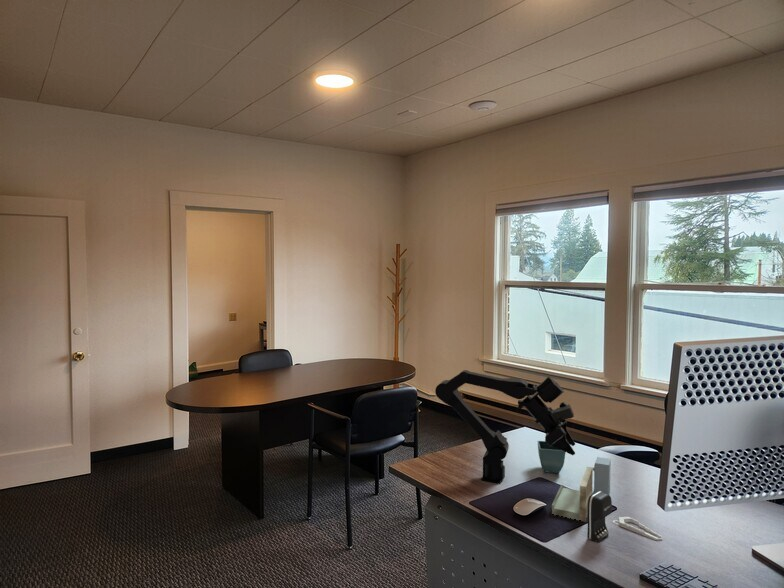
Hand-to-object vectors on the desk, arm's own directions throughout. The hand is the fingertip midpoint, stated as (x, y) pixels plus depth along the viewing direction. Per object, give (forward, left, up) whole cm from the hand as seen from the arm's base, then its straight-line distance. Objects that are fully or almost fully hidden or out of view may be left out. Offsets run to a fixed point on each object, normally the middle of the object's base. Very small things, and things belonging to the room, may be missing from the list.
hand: (574, 449), depth 161 cm
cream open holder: (+1, -13, -13) cm, 18 cm away
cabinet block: (+8, +1, -13) cm, 16 cm away
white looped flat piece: (+19, -18, -14) cm, 30 cm away
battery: (+10, -28, -13) cm, 32 cm away
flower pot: (-10, +13, -13) cm, 21 cm away
